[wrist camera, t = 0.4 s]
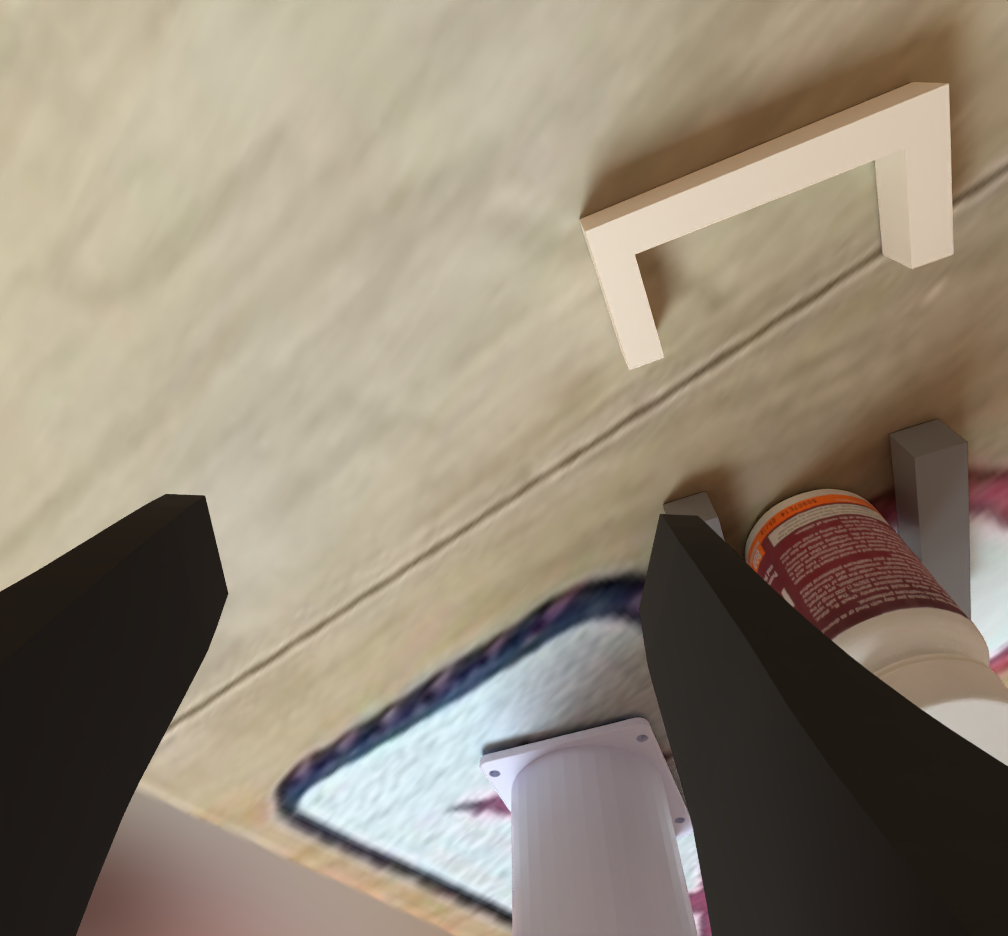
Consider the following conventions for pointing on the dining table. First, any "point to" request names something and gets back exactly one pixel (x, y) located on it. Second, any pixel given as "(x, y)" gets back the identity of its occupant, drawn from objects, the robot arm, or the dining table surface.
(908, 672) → the pill bottle
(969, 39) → the dining table surface
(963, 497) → the gray u-shaped bracket
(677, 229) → the bracket
